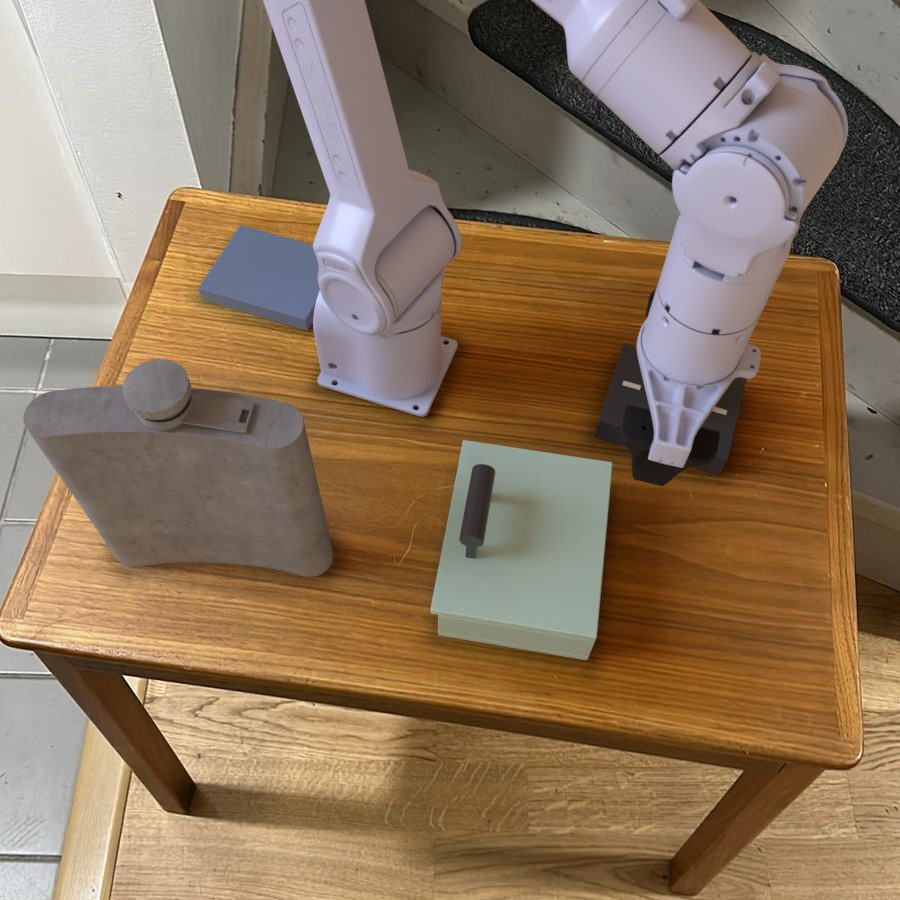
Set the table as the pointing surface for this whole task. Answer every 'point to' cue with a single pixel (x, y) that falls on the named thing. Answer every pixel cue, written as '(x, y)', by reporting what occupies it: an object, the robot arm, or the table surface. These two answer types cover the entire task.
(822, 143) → the robot arm
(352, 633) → the table surface
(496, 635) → the open box
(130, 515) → the hip flask
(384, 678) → the table surface
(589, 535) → the box lid
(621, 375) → the console
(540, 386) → the table surface
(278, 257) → the flat blue-gray rectangular slab
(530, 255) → the table surface
